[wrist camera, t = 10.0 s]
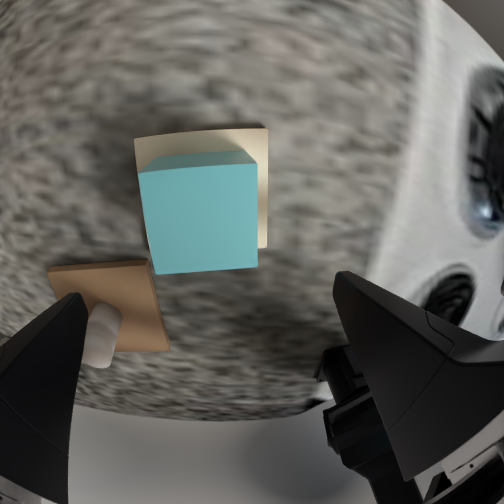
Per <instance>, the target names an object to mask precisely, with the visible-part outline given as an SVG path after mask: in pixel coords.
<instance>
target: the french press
mask: <svg viewBox="0 0 504 504" xmlns="http://www.w3.org/2000/svg"><path fill="white" fill-rule="evenodd" d="M501 294H502V295H503V296H504V281H503V284H502V287H501Z"/></svg>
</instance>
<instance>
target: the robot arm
mask: <svg viewBox="0 0 504 504" xmlns="http://www.w3.org/2000/svg"><path fill="white" fill-rule="evenodd" d="M333 299H334V301H335V304H336V307H337V310H338V313H339V316H340V319H341V322H342V326H343V328H344V331H345V334H346V336H347V338H348V341H349V343H350V345H348V346H343V347H339V348H334V349H329V350H326V351H325V352H324V354H323V358H322V361H321V365H320V368H319V372H318V375H317V378H316V380H317V382H318V383H319V382H324V381H327V382H328V385H329V387H330V390H331V392H332V395H333V397H334V400H335V402H336V405H335V406H333V407H331V408H329V409H325V410H323V414H324V417H323V419H324V424H325V429H326V433H327V443H328V446H329V447H331V448H333V449H334V451H335V452H336V453H337V454H338V455H340V456H341V459H342V462H343V464H344V465H345V466H346V467H347V468H349V469H352V470H354V471H356V472H357V473H358V474H360V475H362V476H363V477H365V478H367V479H368V481H369V483H370V485H371V488H372V491H373V494H374V496H375V499H376V502H377V504H504V340H501V341H492V340H487V339H484V338H482V337H480V336H478V335H475V334H473V333H471V332H469V331H467V330H464V329H462V328H460V327H458V326H456V325H453V324H451V323H449V322H447V321H445V320H443V319H441V318H439V317H437V316H435V315H433V314H431V313H430V312H428V311H425V310H424V309H422V308H420V307H418V306H416V305H414V304H412V303H411V302H409V301H407V300H405V299H403V298H401V297H399V296H397V295H395V294H393V293H391V292H389V291H387V290H385V289H383V288H381V287H379V286H378V285H376V284H374V283H372V282H370V281H368V280H366V279H364V278H362V277H360V276H358V275H356V274H354V273H352V272H350V271H339V272H337V273H336V276H335V281H334V286H333ZM88 318H89V313H88V309H87V307H86V304H85V302H84V300H83V297H82V295H81V294H80V293H79V292H71V293H68V294H67V295H66V296H64V297H63V298H61V299H60V300H59V301H57V302H56V303H55V304H53V305H52V306H51V307H49V308H48V309H47V310H45V311H44V312H43V313H41V314H40V315H39V316H37V317H36V318H35V319H34V320H32V321H31V322H30V323H28V324H27V325H26V326H25V327H23V328H22V329H21V330H20V331H18V332H17V333H16V334H15V335H13V336H12V337H11V338H10V339H9V340H7V341H6V343H4V344H3V345H1V346H0V504H41V499H42V498H44V499H46V500H49V501H51V502H54V503H57V504H68V458H69V457H68V455H69V440H70V430H71V421H72V413H73V405H74V399H75V392H76V387H77V381H78V376H79V371H80V366H81V361H82V356H83V351H84V344H85V337H86V330H87V324H88ZM439 462H441V464H442V466H443V468H444V471H442V472H441V473H439V474H437V475H436V476H434V477H433V479H432V481H431V484H430V486H429V489H428V492H427V494H426V497H425V498H424V495H423V493H422V491H421V488H420V486H419V483H418V481H417V479H416V476H417V475H419V474H421V473H422V472H424V471H426V470H428V469H429V468H431V467H433V466H434V465H436V464H438V463H439Z"/></svg>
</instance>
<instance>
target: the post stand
mask: <svg viewBox="0 0 504 504" xmlns="http://www.w3.org/2000/svg"><path fill="white" fill-rule="evenodd" d="M46 273H47V275H48V278H49V280H50V283H51V285H52V288H53V290H54V292H55V294H56V297H57V299H58V301H59V300H60V299H61V298H63V297H64V296H66V295H67V294H68V293H71V292H79V293H80V294H81V295H82V297H83V300H84V302H85V304H86V307H87V309H88V313H89V318H88V324H87V330H86V337H85V344H84V351H83V356H82V360H83V361H84V362H85V363H87V364H89V365H91V366H93V367H96V368H106V367H108V366H110V364H111V360H112V357H113V353H114V351H117V352H152V351H170V341H169V338H168V335H167V331H166V328H165V324H164V321H163V317H162V314H161V310H160V307H159V303H158V299H157V295H156V291H155V287H154V283H153V279H152V275H151V271H150V266H149V262H148V259H139V260H127V261H114V262H101V263H89V264H76V265H64V266H51V267H50V268H49V270H48V271H47V272H46Z"/></svg>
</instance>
